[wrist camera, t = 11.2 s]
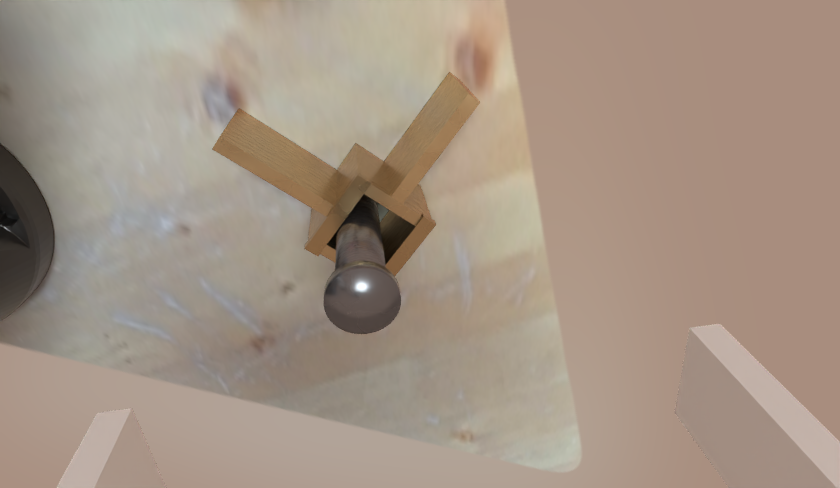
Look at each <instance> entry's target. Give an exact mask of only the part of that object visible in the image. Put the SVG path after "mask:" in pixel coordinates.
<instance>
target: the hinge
mask: <svg viewBox="0 0 840 488" xmlns="http://www.w3.org/2000/svg"><path fill="white" fill-rule="evenodd" d="M479 103H480V101H479V100H478V99H477V98H476V97H475V96H474V95H473V94H472V93H471V92H470V91H469V89H468V88H467V87H466V86H465V85H464V84H463V83H462V82H461V81H460V80H459V79H458V78H457V77H455V76H454V75H453V74H451V73H450V72H449V73H448V75H447V76H446V77H445V79H444V80H443V81H442V83H441V84H440V86H439V87H438V88H437V90H436V91H435V92H434V94H433V95H432V97H431V98H430V99H429V101H428V102H427V103H426V105H425V106H424V108H423V109H422V110H421V112H420V113H419V114H418V116H417V117H416V119H415V120H414V121H413V123H412V124H411V125H410V127H409V128H408V129H407V131H406V132H405V134H404V135H403V136H402V138H401V139H400V140H399V142H398V143H397V145H396V146H395V147H394V149H393V150H392V151H391V153H390V154H389V156H388V157H387V158H386V160H385V161H382V160H381V159H379V158H378V157H376V156H375V155H373V154H372V153H370V152H369V151H367V150H366V149H364V148H363V147H361V146H360V145H358V144H357V143H356V144H355V145H354V146H353V148H352V149H351V151H350V152H349V154H348V155H347V156H346V158H345V159H344V161H343V162H342V164H341V165H340V166H339V168H338V169H337V170H336V169H334V168H333V167H331V166H330V165H328V164H327V163H325V162H323V161H322V160H320V159H319V158H317V157H315V156H314V155H312V154H311V153H309V152H308V151H306V150H304V149H303V148H301V147H300V146H298V145H296V144H295V143H293V142H292V141H290V140H289V139H287V138H285V137H284V136H282V135H281V134H279V133H277V132H276V131H274V130H273V129H271V128H270V127H268V126H266V125H265V124H263V123H262V122H260V121H258V120H257V119H255V118H254V117H252V116H251V115H249V114H247V113H246V112H244V111H243V110H241V109H238V110H237V112H236V113H235V115H234V116H233V118H232V119H231V121H230V122H229V124H228V125H227V127H226V128H225V130H224V131H223V133H222V134H221V136H220V137H219V139H218V140H217V142H216V144H215V145H214V147H213V150H215V151H216V152H218V153H220V154H221V155H223V156H225V157H226V158H228V159H230V160H231V161H233V162H235V163H237V164H238V165H240V166H242V167H243V168H245V169H247V170H248V171H250V172H252V173H253V174H255V175H257V176H259V177H260V178H262V179H264V180H265V181H267V182H269V183H270V184H272V185H274V186H275V187H277V188H279V189H281V190H282V191H284V192H286V193H287V194H289V195H291V196H292V197H294V198H296V199H297V200H299V201H301V202H303V203H304V204H306V205H308V206H309V207H311V208H312V211H311V219H310V228H309V236H308V241H307V243H306V244H305V249H306V250H308V251H309V252H311V253H313V254H315V255H317V256H319V254H321V255H323V256H325V257H326V258H328V259H330V260H332V261H334V262H335V263H336V231H337V230H338V228H339V227H340V226H341V224H342V223H343V222H344V220H345V219H346V218H347V216H348V215H349V213H350V212H351V211H352V209H353V208H354V207H355V205H356V204H357V202H358V201H359V200H360V198H361V197H362V196H363V194H365V195H366V196H368V197H370V198H371V199H373V200H374V201H376V202H378V203H379V204H381V205H382V206H384V207H386V208H387V209H389V211H388V213H387V214H386V215H385V217H384V218H383V219H382V221H381V222H380V229H381V236H382V243H383V251H384V258H385V265H386V268H387V269H388V270H390V271H391V272H392V274H393V275H394V276H395V275H396V274H397V273H398V272H399V270H400V269H401V268H402V267H403V265H404V264H405V263H406V262H407V260H408V259H409V258H410V257H411V255H412V254H413V253H414V252H415V250H416V249H417V248H418V247H419V245H420V244H421V243H422V242H423V240H424V239H425V238H426V237H427V235H428V234H429V233H430V232H431V230H432V229H433V228H434V227H435V225H436V223H435V221H434V220H432V219H431V216H430V213H429V210H428V207H427V204H426V201H425V198H424V195H423V192H422V189H421V186H420V185H419V184H418V183H419V182H420V180H421V179H422V178H423V177H424V175H425V174H426V173H427V171H428V170H429V169H430V167H431V166H432V165H433V163H434V162H435V161H436V160H437V158H438V157H439V156H440V154H441V153H442V152H443V150H444V149H445V148H446V146H447V145H448V144H449V143H450V141H451V140H452V139H453V137H454V136H455V135H456V133H457V132H458V131H459V129H460V128H461V127H462V126H463V124H464V123H465V122H466V120H467V119H468V118H469V116H470V115H471V114H472V112H473V111H474V110H475V109H476V107H477V106H478V105H479Z"/></svg>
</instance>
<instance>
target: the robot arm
mask: <svg viewBox="0 0 840 488" xmlns="http://www.w3.org/2000/svg"><path fill="white" fill-rule="evenodd" d="M53 243H54V239H53V228H52V223H51V218H50V215H49V212H48V209H47V206H46V204H45V201H44V199H43V197H42V195H41V193H40V191H39V190H38V188H37V186H36V185H35V183H34V182H33V180H32V179H31V177H30V176H29V174H28V173H27V172H26V171H25V169H24V168H23V167H22V166H21V165H20V163H19V162H18V161H17V160H16V159H15V158H14V157H13V156H12V155H11V154H10V153H9V152H8V151H7V150H6V149H5V148H3V147H2V146H1V145H0V321H1V320H3V319H4V318H6V317H7V316H8V315H10V314H11V313H12V312H14V311H15V310H16V309H17V308H18V307H19V306H20V305H21V304H22V303H23V302H24V301H25V300H26V299H27V298H28V296H29V295H30V294H31V293H32V292H33V291H34V290H35V289H36V288H37V287H38V285H39V284H40V283H41V281H42V280H43V278H44V276H45V275H46V273H47V270H48V268H49V265H50V263H51V258H52V254H53ZM675 414H676V415H677V417H678V418H679V419H680V421H681V422H682V424H683V425H684V426H685V428H686V429H687V431H688V432H689V433H690V435H691V436H692V438H693V439H694V440H695V442H696V443H697V444H698V446H699V447H700V449H701V450H702V451H703V453H704V454H705V456H706V457H707V459H708V460H709V461H710V463H711V464H712V465H713V467H714V468H715V470H716V471H717V472H718V474H719V475H720V477H721V478H722V479H723V481H724V482H725V484H726V485H727V486H728V488H840V442H839V441H838V440H837V439H836V438H835V437H834V436H833V435H832V434H831V433H830V432H829V431H828V430H827V429H826V428H825V427H824V426H823V425H822V424H821V423H820V422H819V421H818V420H817V419H816V418H815V417H814V416H813V415H812V414H811V413H810V412H809V411H808V410H807V409H806V408H805V407H804V406H803V405H802V404H801V403H800V402H799V401H798V400H797V399H796V398H795V397H794V396H793V395H792V394H791V393H790V392H789V391H788V390H787V389H785V387H783V386H782V385H781V384H780V383H779V382H778V381H777V380H776V379H775V378H774V377H773V376H772V375H771V374H770V373H769V372H768V371H767V370H766V369H765V368H764V367H763V366H762V365H761V364H760V363H759V362H758V361H757V360H756V359H755V358H754V357H753V356H752V355H751V354H750V353H749V352H748V351H747V350H746V349H745V348H744V347H743V346H742V345H741V344H740V343H739V342H738V341H737V340H736V339H735V338H734V337H733V336H732V335H731V334H730V333H729V332H728V331H727V330H726V329H725V328H723V326H722V325H721V324H714V325H707V326H700V327H693V328H689V333H688V339H687V345H686V351H685V357H684V362H683V368H682V373H681V380H680V385H679V391H678V397H677V402H676V408H675ZM57 488H166V486H165V483H164V481H163V479H162V477H161V474H160V472H159V470H158V467H157V465H156V463H155V460H154V458H153V456H152V453H151V451H150V449H149V446H148V445H147V442H146V439H145V437H144V435H143V433H142V430H141V428H140V426H139V423H138V421H137V419H136V416H135V414H134V412H133V409H132V408H129V409H122V410H114V411H107V412H100V413H97V414H96V416H95V418H94V420H93V421H92V423H91V425H90V427H89V429H88V431H87V432H86V434H85V436H84V438H83V440H82V442H81V443H80V445H79V447H78V449H77V451H76V453H75V455H74V457H73V458H72V460H71V462H70V464H69V466H68V467H67V469H66V471H65V473H64V475H63V477H62V478H61V480H60V482H59V484H58V486H57Z"/></svg>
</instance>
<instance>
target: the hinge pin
mask: <svg viewBox="0 0 840 488" xmlns="http://www.w3.org/2000/svg"><path fill="white" fill-rule="evenodd" d="M400 305H401V296H400V290H399V285H398V282H397V280H396V278H395V276H394V275H393V274H392V272H391V271H390V270H388V269H387V268H386V265H385V258H384V251H383V243H382V236H381V229H380V222H379V214H378V207H377V202H376V201H374V200H373V199H371V198H370V197H368V196H366V195H365V194H363V196H362V197H361V198H360V200H359V201H358V202H357V204H356V205H355V207H354V208H353V209H352V211H351V212H350V213H349V215H348V216H347V218H346V219H345V220H344V222H343V223H342V224H341V226H340V227H339V228H338V230H337V231H336V264H335V271H334V272H333V273H332V275H331V276H330V277H329V279H328V280H327V283H326V285H325V290H324V309H325V312H326V315H327V316H328V318H329V319H330V321H331V322H332V323H333V324H334V325H335V326H337V327H338V328H340V329H342V330H344V331H346V332H350V333H355V334H367V333H372V332H376V331H379V330H381V329H383V328H384V327H386V326H387V325H389V324H390V323H391V322H392V321H393V320H394V318H395V317H396V316H397V314H398V312H399V309H400Z"/></svg>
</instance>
